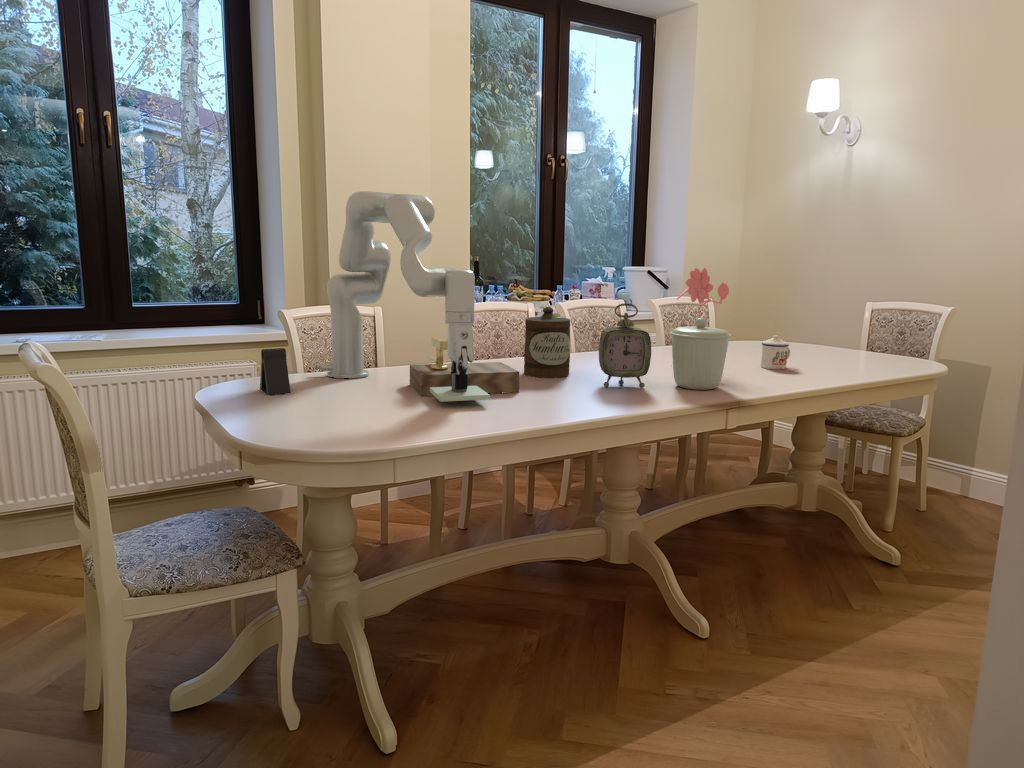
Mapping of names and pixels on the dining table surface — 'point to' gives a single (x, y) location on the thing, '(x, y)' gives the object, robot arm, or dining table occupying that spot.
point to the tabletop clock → (625, 350)
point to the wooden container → (547, 345)
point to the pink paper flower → (703, 288)
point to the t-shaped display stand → (439, 353)
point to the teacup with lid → (774, 353)
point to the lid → (459, 393)
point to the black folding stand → (274, 372)
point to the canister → (699, 355)
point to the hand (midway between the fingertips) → (459, 386)
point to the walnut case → (479, 374)
